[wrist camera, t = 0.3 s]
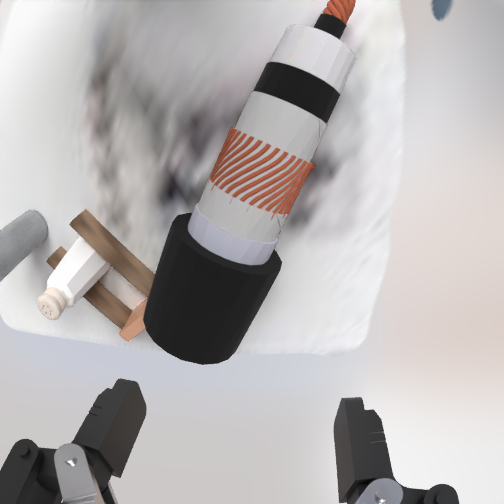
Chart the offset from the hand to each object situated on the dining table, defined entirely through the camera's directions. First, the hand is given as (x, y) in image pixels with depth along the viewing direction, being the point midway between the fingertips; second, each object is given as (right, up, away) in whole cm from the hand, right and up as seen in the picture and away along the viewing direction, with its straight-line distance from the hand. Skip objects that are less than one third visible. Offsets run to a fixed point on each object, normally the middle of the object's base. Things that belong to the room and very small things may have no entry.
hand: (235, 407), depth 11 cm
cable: (+2, +15, +17) cm, 23 cm away
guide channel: (-16, +4, +24) cm, 29 cm away
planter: (-27, +9, +21) cm, 36 cm away
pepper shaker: (-18, +6, +23) cm, 30 cm away
